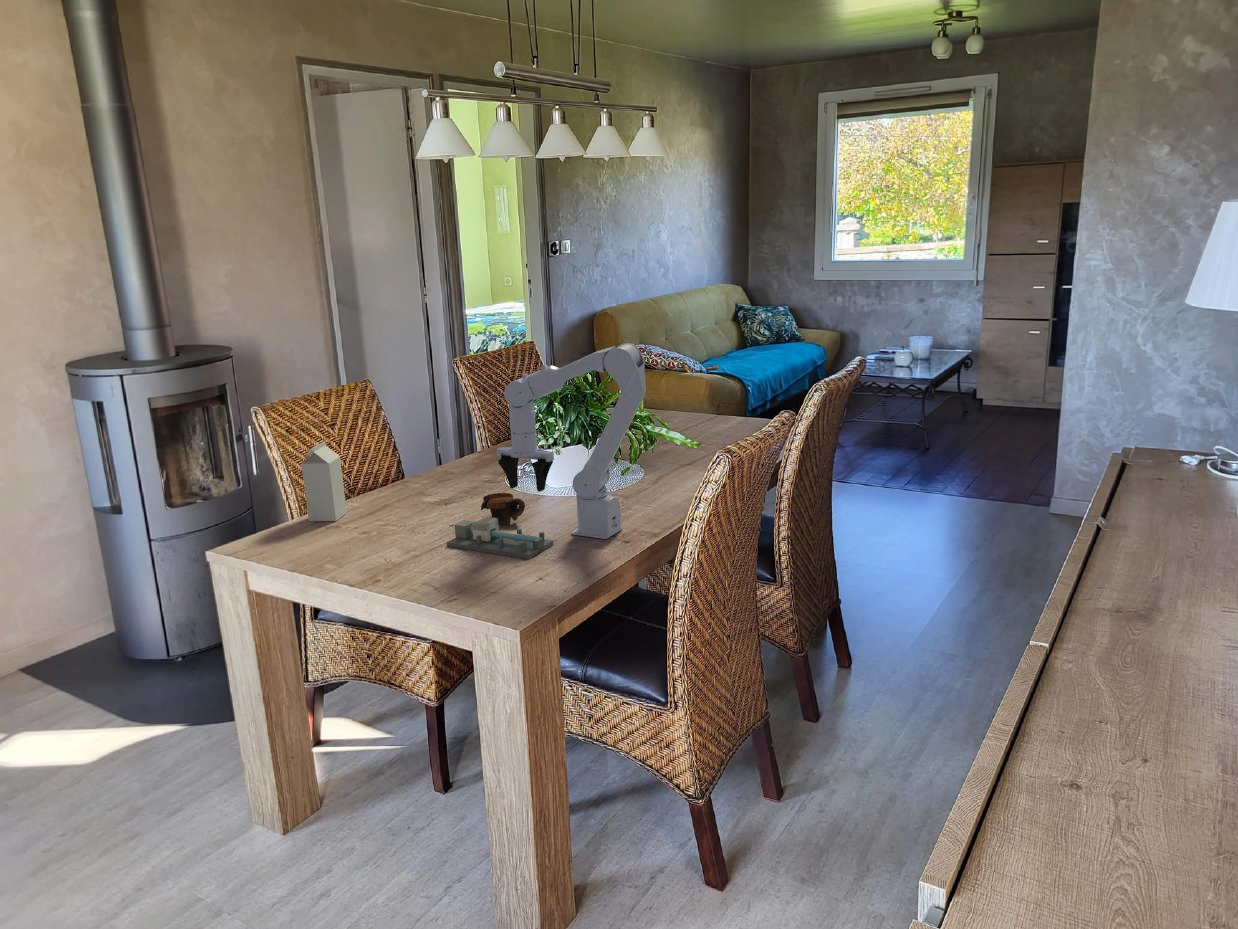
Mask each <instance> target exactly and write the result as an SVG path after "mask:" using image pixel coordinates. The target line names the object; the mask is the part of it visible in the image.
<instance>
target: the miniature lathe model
mask: <svg viewBox="0 0 1238 929" xmlns="http://www.w3.org/2000/svg"><path fill="white" fill-rule="evenodd" d="M473 521H474V520H472V521H471V520H467V519H465V520H462V521H459V522H457V523H455V524H454V535H455V537H454V538H452V539H450V540H448V541H446V547H451V548H454V549H456V548H457V549H461V550H466V551H467V550H468V551H473V552H481V553H487V554H493V555H500V556H504V557H506V556H507V557H511V558H512V557H513V558H519V559H524V560H530V559H531V558H533V557H534V556H537V555H538V554H540V553H541V552H544V551H545V550H546V549H549V548H550V547H552V546H554V545H555V542H554V539H549V538H547V539H546V538H545V532H544V531H540V532H538V536H535V535H530V534H529V535H527V534H523V531H522V530H523V529H522V528H521V529H520V528H518V529H516V533H515V532H514V533H513V532H507V531H501V526H499V525H498V527H499V531H494V530H490V537H491V540H490V541H482V539H481V535H478V536H476V540H475V539H474V538H473V527H472V522H473Z"/></svg>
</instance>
